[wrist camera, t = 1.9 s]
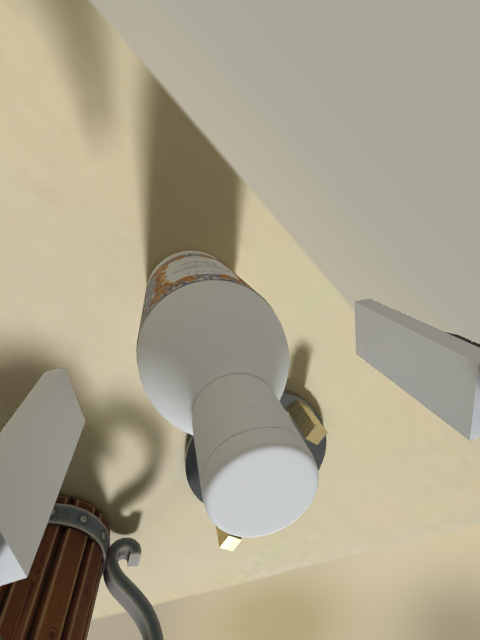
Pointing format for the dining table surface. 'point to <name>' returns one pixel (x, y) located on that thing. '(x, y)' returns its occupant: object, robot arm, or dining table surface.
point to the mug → (73, 579)
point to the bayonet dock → (307, 428)
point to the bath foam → (225, 392)
